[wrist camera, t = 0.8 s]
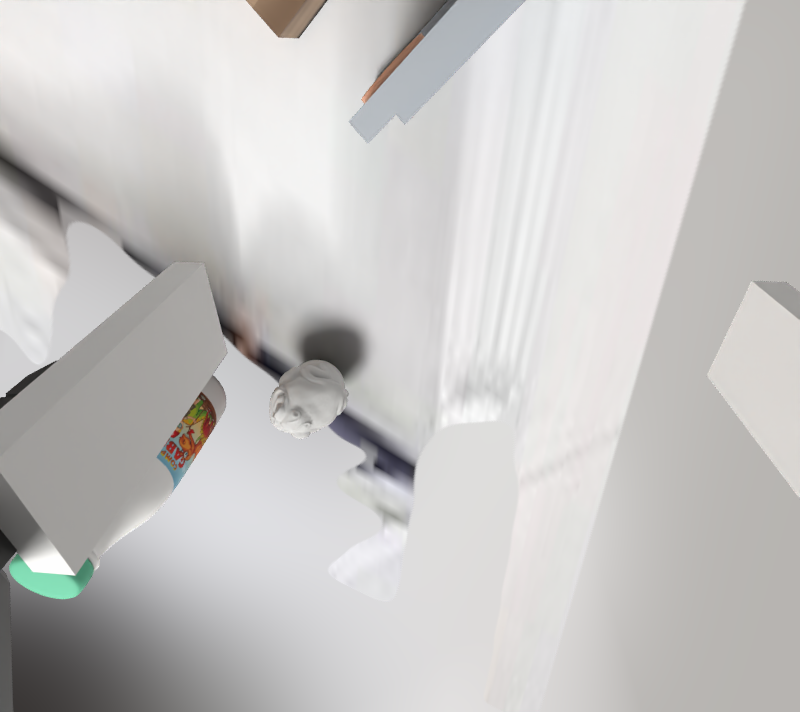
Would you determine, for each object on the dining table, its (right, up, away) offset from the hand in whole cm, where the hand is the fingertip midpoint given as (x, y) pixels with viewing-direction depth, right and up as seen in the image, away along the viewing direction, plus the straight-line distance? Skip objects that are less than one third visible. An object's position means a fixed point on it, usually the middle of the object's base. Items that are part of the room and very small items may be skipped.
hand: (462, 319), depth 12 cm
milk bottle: (-22, -4, +35) cm, 41 cm away
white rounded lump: (-9, -2, +32) cm, 33 cm away
